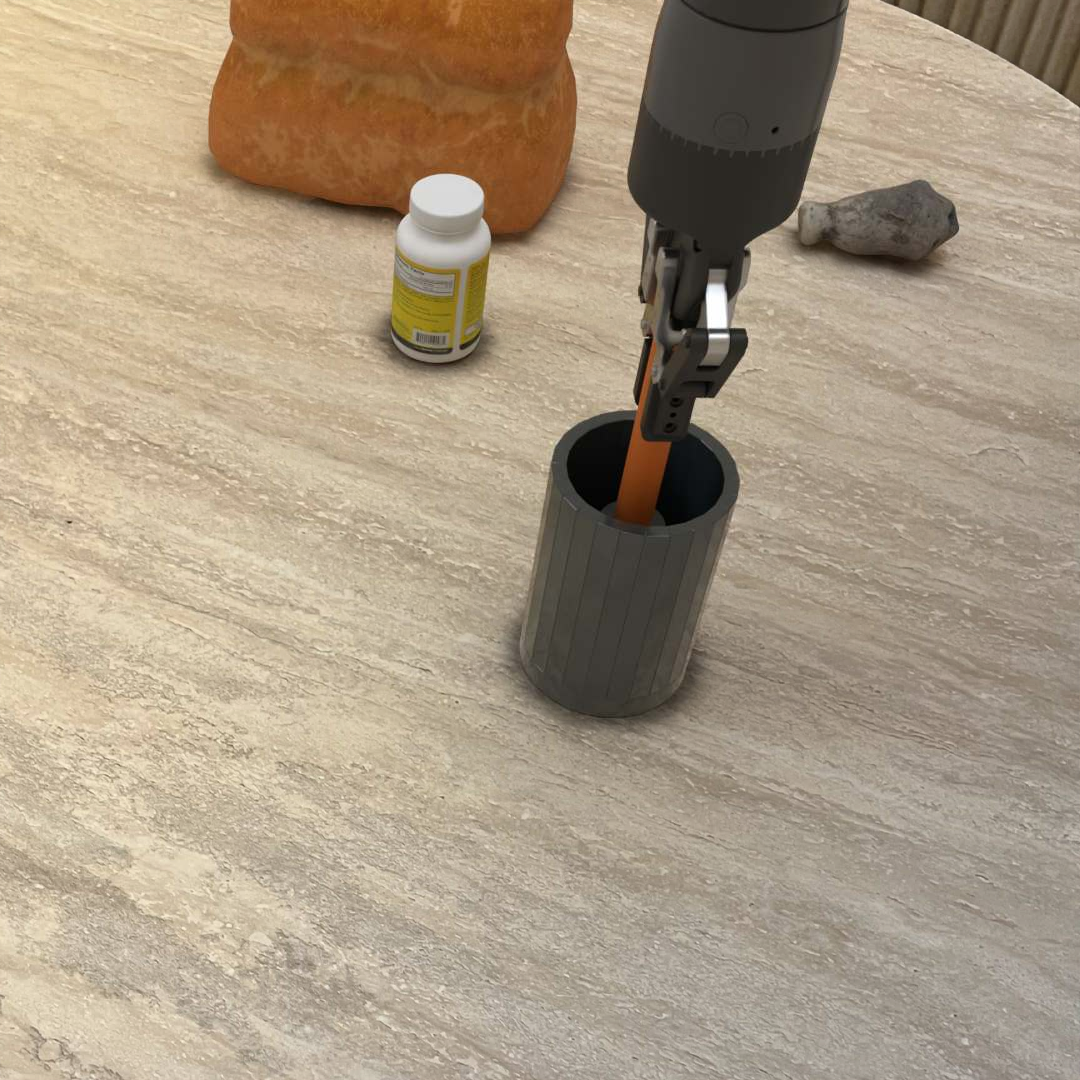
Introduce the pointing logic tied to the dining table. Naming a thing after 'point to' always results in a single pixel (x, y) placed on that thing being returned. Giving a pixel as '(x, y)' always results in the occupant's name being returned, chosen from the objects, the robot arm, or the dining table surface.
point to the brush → (641, 471)
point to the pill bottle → (440, 270)
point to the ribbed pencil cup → (623, 570)
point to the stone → (882, 221)
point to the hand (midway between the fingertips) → (658, 418)
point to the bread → (399, 100)
